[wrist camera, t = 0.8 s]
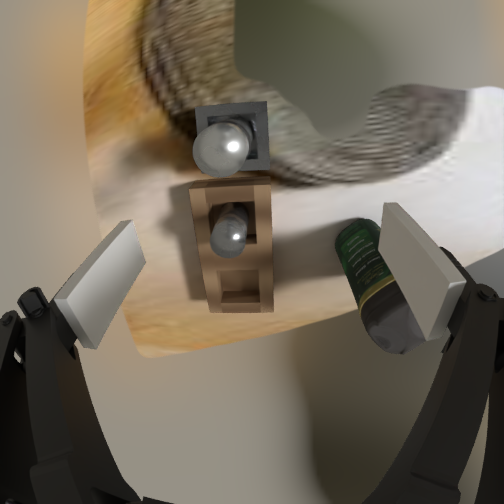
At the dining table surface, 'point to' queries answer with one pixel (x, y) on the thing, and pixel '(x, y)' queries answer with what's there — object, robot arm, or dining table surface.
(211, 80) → the dining table surface
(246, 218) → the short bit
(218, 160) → the grey metal cylinder
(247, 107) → the socket block
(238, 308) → the rack
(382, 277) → the coffee jar
